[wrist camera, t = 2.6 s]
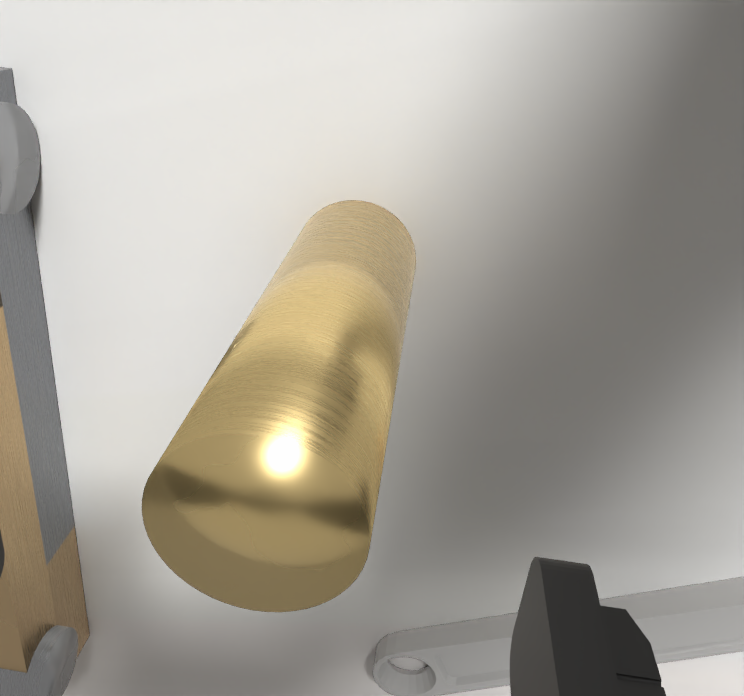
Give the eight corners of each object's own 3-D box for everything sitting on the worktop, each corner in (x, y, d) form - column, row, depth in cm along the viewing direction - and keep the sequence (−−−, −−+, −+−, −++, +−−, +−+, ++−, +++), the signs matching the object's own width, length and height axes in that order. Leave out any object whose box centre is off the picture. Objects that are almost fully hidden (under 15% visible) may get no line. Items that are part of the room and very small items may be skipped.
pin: (299, 192, 19) (134, 416, 10) (423, 208, 19) (381, 454, 9) (293, 304, 21) (147, 592, 11) (407, 321, 21) (358, 627, 11)
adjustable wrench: (389, 669, 29) (384, 709, 27) (341, 554, 26) (333, 591, 25) (1126, 604, 23) (1173, 650, 21) (1164, 445, 20) (1222, 485, 19)
